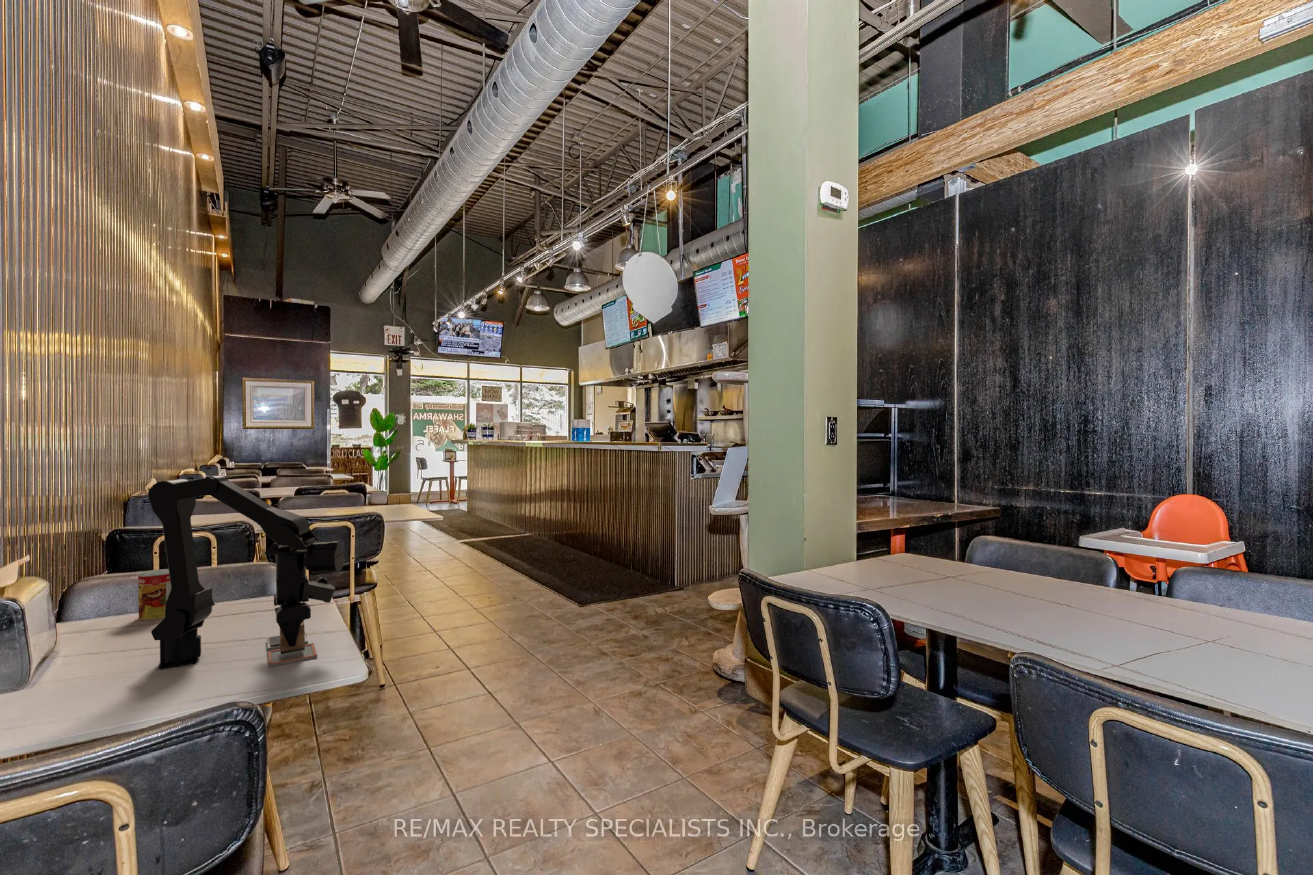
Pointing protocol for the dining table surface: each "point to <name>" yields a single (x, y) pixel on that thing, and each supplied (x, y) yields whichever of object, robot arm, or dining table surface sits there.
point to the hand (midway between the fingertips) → (291, 643)
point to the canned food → (153, 594)
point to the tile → (291, 655)
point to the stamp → (299, 643)
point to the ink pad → (277, 642)
